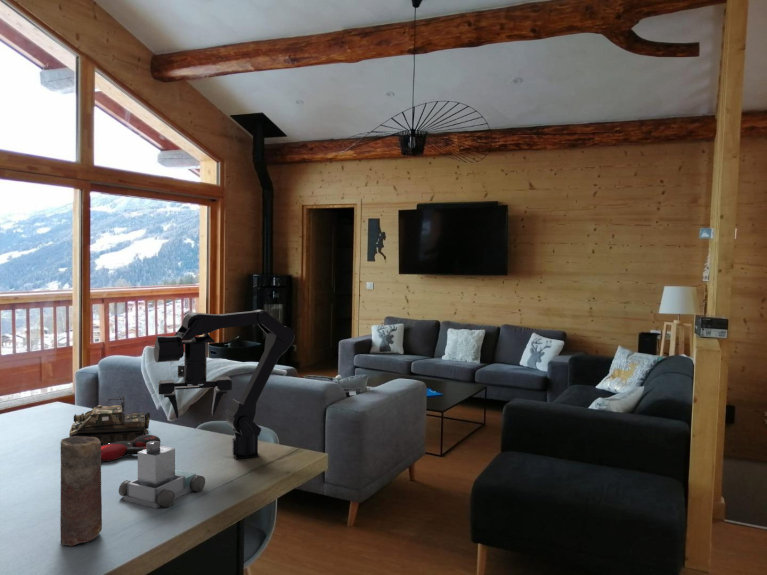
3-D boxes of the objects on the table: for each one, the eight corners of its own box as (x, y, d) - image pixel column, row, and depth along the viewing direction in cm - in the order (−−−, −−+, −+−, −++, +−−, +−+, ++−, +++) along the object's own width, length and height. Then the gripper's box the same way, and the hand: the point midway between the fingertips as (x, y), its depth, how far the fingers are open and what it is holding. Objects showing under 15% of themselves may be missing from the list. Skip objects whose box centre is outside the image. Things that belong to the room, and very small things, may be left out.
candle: (71, 529, 120) (70, 433, 119) (108, 529, 121) (107, 433, 120) (53, 548, 113) (52, 445, 112) (93, 547, 113) (92, 444, 112)
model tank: (72, 437, 183) (72, 389, 182) (149, 430, 192) (149, 384, 191) (68, 449, 171) (68, 398, 170) (150, 441, 180) (150, 392, 179)
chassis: (164, 478, 149) (164, 463, 149) (206, 488, 143) (206, 471, 143) (117, 498, 136) (117, 481, 136) (162, 510, 130) (162, 492, 130)
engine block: (157, 485, 142) (157, 436, 141) (175, 489, 139) (175, 439, 139) (137, 494, 136) (137, 443, 136) (155, 499, 134) (155, 447, 133)
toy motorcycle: (64, 459, 166) (63, 468, 152) (65, 441, 167) (63, 448, 152) (158, 450, 177) (165, 457, 163) (158, 432, 178) (165, 438, 164)
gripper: (227, 353, 170) (227, 407, 170) (158, 356, 163) (158, 412, 163) (232, 359, 159) (232, 416, 160) (158, 363, 152) (158, 422, 153)
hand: (195, 416), depth 159 cm, fingers open, 9 cm apart
